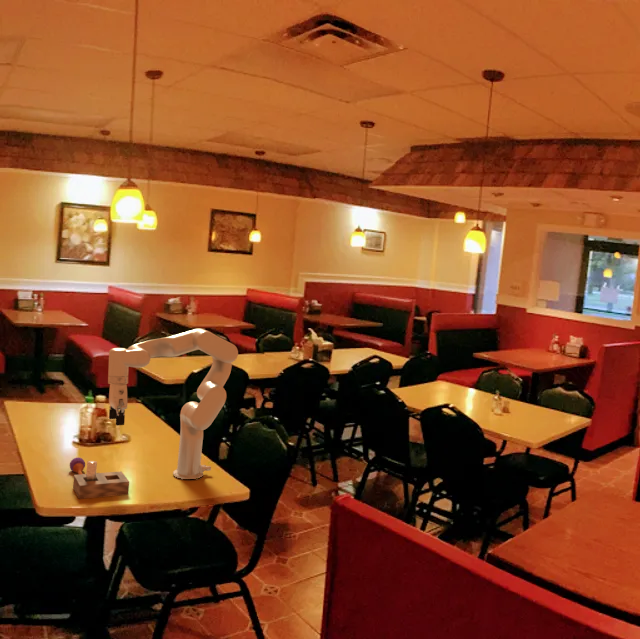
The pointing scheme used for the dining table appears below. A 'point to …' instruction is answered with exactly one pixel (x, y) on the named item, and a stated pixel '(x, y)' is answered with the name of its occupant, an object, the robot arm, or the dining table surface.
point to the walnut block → (101, 485)
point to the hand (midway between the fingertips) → (116, 421)
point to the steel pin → (91, 471)
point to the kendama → (77, 465)
